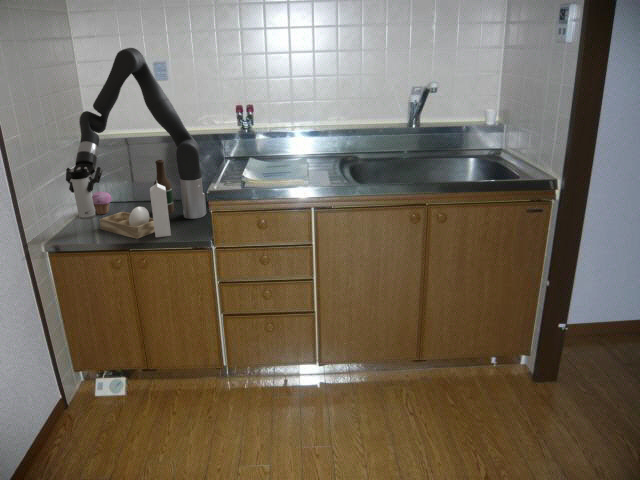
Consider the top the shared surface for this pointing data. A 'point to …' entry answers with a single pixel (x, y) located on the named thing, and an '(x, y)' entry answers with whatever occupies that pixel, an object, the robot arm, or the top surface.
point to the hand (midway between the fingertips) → (80, 191)
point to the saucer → (138, 216)
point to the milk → (160, 210)
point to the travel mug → (82, 194)
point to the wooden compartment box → (126, 225)
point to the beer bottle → (164, 184)
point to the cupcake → (101, 202)
